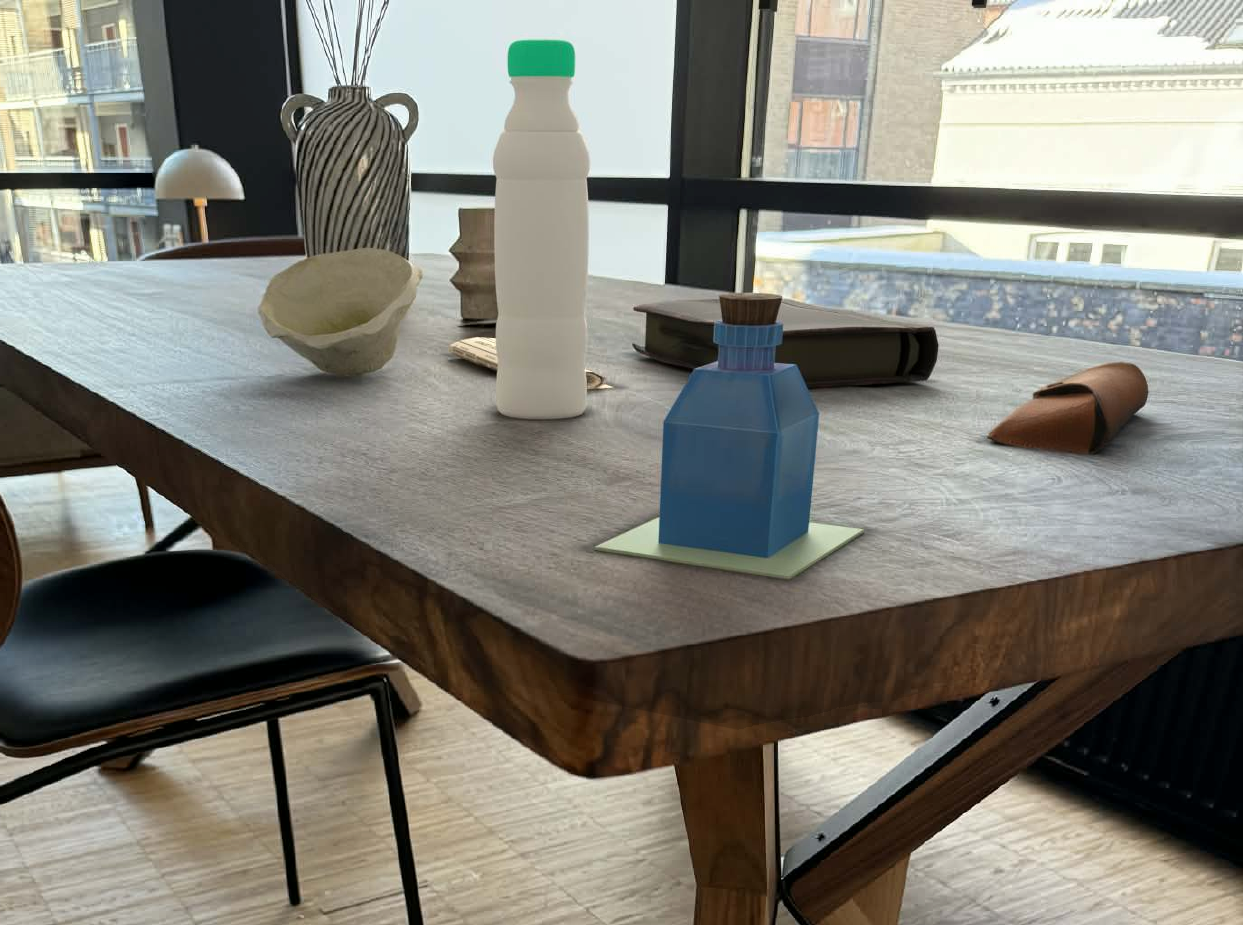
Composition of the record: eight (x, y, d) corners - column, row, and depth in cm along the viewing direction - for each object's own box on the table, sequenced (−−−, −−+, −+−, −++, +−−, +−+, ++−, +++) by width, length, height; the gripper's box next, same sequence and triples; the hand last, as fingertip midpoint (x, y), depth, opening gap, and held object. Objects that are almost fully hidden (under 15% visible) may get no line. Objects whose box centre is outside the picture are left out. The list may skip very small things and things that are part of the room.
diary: (788, 348, 147) (792, 294, 144) (934, 383, 127) (942, 322, 124) (624, 356, 141) (625, 301, 138) (750, 395, 120) (755, 331, 118)
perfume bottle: (767, 558, 74) (787, 305, 68) (658, 543, 76) (668, 298, 70) (808, 532, 78) (830, 294, 73) (703, 518, 81) (716, 287, 75)
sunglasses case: (1033, 401, 115) (1091, 327, 111) (1103, 455, 114) (1163, 383, 110) (982, 439, 101) (1045, 357, 97) (1061, 501, 101) (1128, 420, 96)
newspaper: (449, 358, 139) (448, 338, 138) (516, 354, 142) (516, 335, 141) (540, 395, 120) (540, 372, 119) (617, 390, 123) (617, 368, 122)
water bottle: (515, 425, 108) (512, 36, 96) (483, 410, 114) (477, 41, 102) (600, 419, 110) (608, 39, 98) (565, 405, 116) (568, 43, 104)
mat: (863, 536, 79) (864, 529, 79) (789, 584, 71) (789, 576, 71) (683, 512, 84) (684, 505, 84) (594, 554, 76) (594, 546, 76)
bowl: (232, 379, 127) (219, 255, 122) (314, 359, 138) (305, 244, 134) (380, 390, 122) (374, 261, 117) (453, 368, 133) (449, 250, 128)
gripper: (1138, -426, 83) (1072, 9, 93) (715, -385, 89) (697, 16, 100) (1143, -471, 76) (1071, 0, 87) (687, -424, 83) (671, 8, 93)
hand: (871, 9), depth 93 cm, fingers open, 13 cm apart
